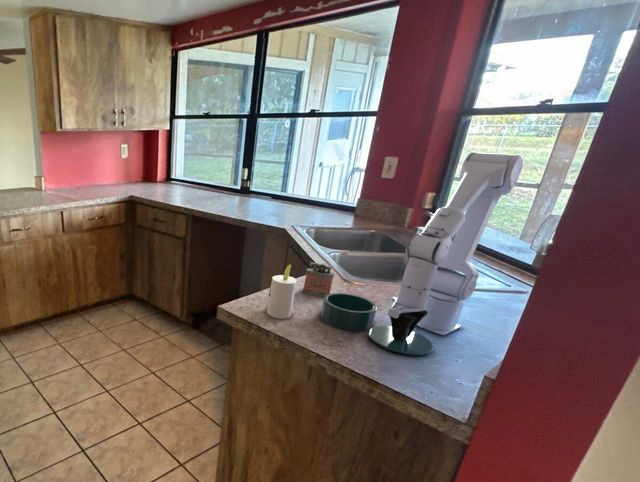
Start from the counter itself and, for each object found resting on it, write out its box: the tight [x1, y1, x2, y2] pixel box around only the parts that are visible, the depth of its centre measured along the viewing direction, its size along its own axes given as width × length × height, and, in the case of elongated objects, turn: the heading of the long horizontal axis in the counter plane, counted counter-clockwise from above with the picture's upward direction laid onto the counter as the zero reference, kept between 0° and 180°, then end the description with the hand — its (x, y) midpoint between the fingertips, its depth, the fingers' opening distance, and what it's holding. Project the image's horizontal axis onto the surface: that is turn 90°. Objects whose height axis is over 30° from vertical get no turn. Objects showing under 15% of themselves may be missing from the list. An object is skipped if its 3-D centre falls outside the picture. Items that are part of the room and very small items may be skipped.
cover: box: [367, 325, 434, 356], centre depth 99 cm, size 14×14×5 cm
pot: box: [320, 292, 378, 332], centre depth 110 cm, size 13×13×5 cm
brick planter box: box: [302, 261, 336, 298], centre depth 126 cm, size 8×3×10 cm, turn 58°
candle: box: [266, 263, 298, 320], centre depth 111 cm, size 6×6×15 cm
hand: (400, 336), depth 99 cm, fingers closed on cover, 2 cm apart
